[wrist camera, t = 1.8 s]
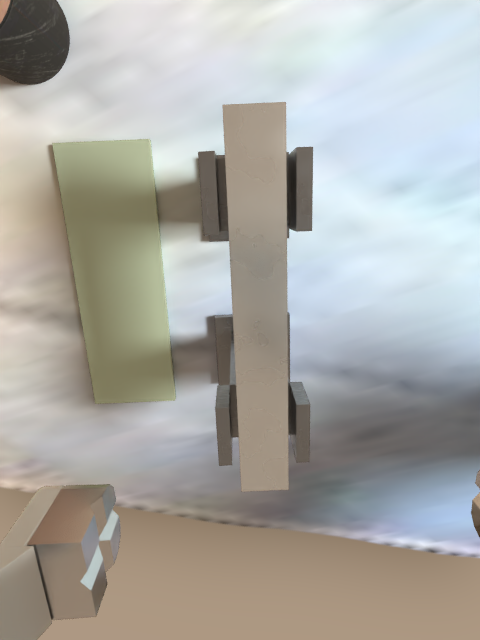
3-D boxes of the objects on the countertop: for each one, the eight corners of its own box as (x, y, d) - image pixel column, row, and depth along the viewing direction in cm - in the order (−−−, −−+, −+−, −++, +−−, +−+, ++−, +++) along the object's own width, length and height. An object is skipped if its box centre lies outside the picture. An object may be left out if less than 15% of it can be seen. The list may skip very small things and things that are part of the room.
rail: (279, 116, 21) (285, 102, 18) (282, 459, 27) (288, 489, 24) (224, 118, 21) (222, 104, 18) (240, 461, 27) (241, 491, 24)
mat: (150, 140, 32) (148, 139, 32) (175, 397, 39) (175, 400, 39) (55, 144, 32) (52, 143, 32) (97, 400, 39) (95, 403, 39)
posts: (287, 153, 33) (327, 111, 18) (288, 379, 39) (320, 481, 24) (205, 157, 33) (181, 118, 18) (219, 382, 39) (209, 486, 24)
